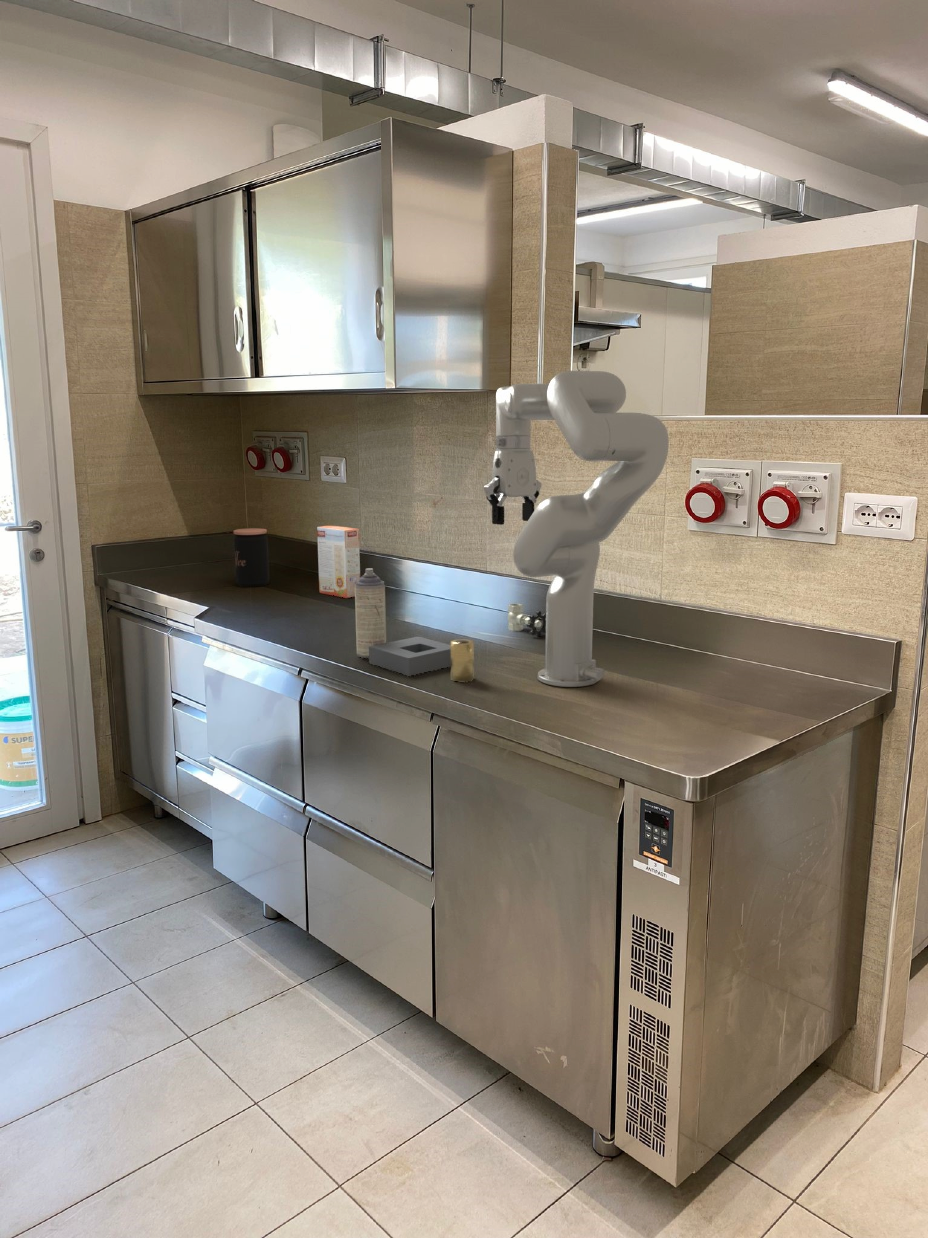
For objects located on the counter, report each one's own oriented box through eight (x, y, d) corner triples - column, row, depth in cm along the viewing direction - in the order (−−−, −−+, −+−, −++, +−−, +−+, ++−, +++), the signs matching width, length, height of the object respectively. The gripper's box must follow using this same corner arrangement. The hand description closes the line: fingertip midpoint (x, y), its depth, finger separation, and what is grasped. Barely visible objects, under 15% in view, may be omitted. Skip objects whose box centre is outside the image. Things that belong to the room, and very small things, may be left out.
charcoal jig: (458, 664, 203) (458, 647, 202) (408, 676, 194) (408, 658, 193) (418, 653, 213) (418, 636, 212) (369, 664, 204) (368, 646, 203)
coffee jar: (235, 583, 306) (232, 528, 302) (268, 581, 309) (265, 527, 305) (237, 588, 296) (234, 532, 292) (271, 586, 299) (268, 531, 295)
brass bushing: (478, 679, 191) (478, 642, 190) (461, 683, 188) (461, 645, 187) (463, 674, 195) (462, 638, 193) (445, 679, 192) (445, 641, 190)
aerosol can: (391, 653, 213) (389, 567, 209) (378, 660, 207) (376, 572, 203) (365, 650, 216) (362, 565, 212) (351, 657, 210) (348, 570, 205)
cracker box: (362, 596, 282) (360, 528, 277) (346, 599, 278) (343, 529, 273) (334, 590, 291) (332, 524, 287) (318, 593, 287) (316, 526, 283)
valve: (500, 630, 236) (528, 639, 227) (500, 604, 235) (529, 612, 225) (521, 626, 240) (549, 635, 230) (521, 602, 239) (550, 609, 229)
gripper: (498, 445, 194) (498, 526, 197) (552, 443, 205) (551, 520, 209) (473, 445, 199) (473, 524, 202) (527, 443, 211) (527, 518, 214)
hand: (513, 522), depth 205 cm, fingers open, 9 cm apart
